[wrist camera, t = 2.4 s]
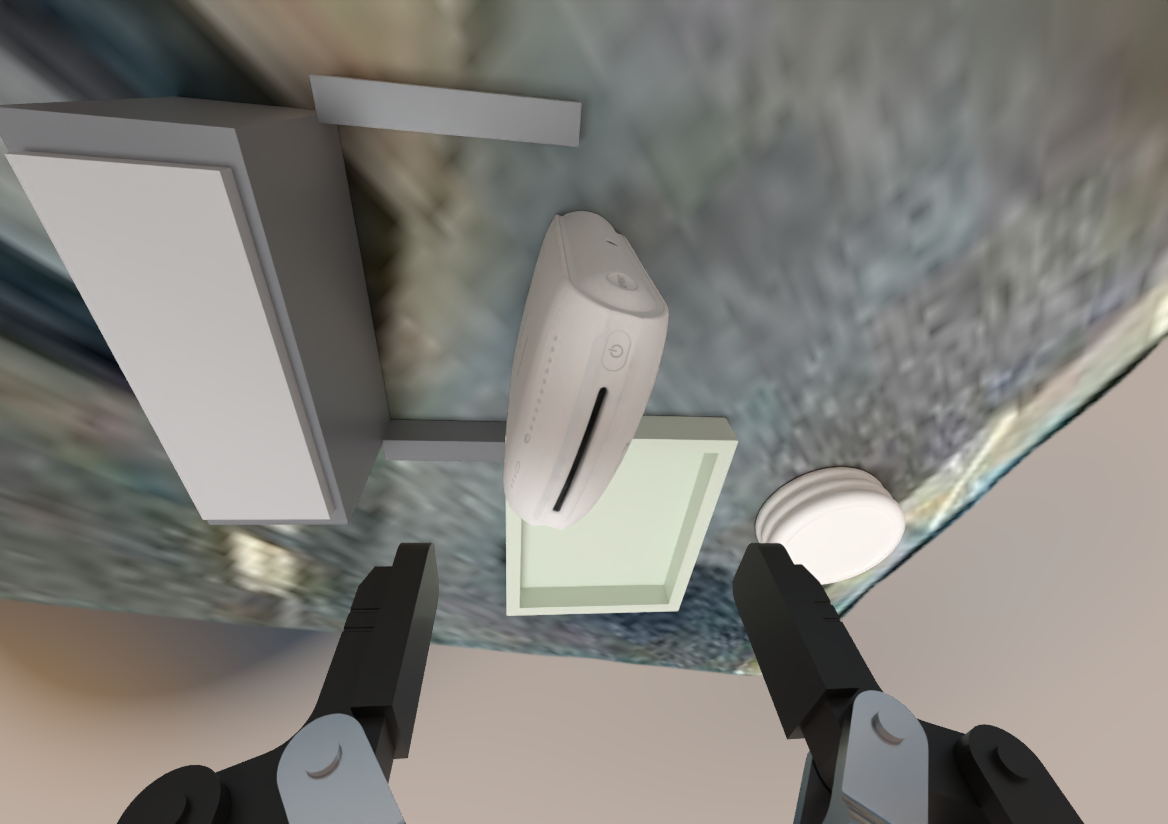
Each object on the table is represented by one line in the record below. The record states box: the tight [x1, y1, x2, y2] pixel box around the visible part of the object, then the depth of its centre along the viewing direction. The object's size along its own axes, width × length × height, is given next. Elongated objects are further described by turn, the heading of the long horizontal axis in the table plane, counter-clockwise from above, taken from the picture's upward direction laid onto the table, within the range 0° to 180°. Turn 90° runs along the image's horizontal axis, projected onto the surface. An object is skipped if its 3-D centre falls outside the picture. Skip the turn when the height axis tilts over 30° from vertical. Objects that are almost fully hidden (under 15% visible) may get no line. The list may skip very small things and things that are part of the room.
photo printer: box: [503, 211, 669, 530], centre depth 20 cm, size 10×4×12 cm, turn 163°
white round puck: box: [755, 467, 906, 584], centre depth 36 cm, size 10×10×4 cm
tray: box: [505, 412, 738, 616], centre depth 34 cm, size 18×14×2 cm
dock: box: [0, 75, 582, 525], centre depth 21 cm, size 18×16×9 cm
